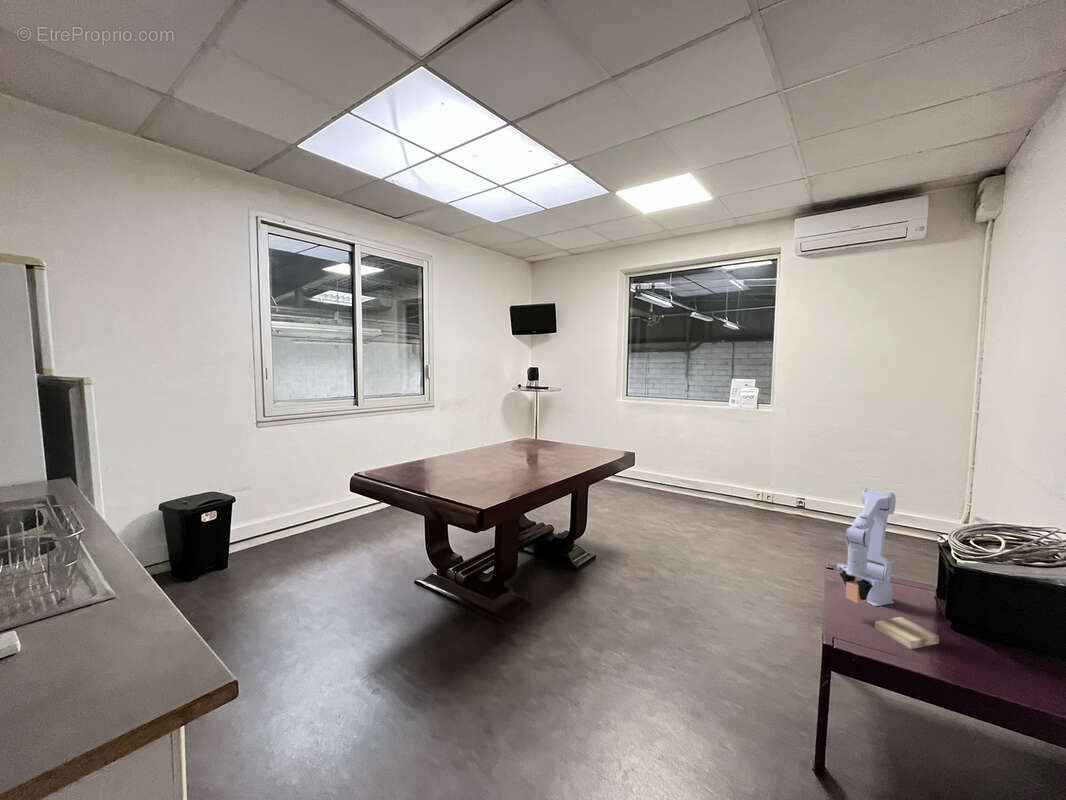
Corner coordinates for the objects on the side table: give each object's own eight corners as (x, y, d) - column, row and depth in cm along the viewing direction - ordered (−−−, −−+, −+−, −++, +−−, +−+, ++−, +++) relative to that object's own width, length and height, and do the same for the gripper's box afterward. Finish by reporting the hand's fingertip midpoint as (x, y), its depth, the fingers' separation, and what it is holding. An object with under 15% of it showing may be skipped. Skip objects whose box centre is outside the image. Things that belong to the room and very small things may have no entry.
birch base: (901, 624, 156) (901, 616, 156) (938, 644, 145) (939, 635, 145) (874, 629, 154) (874, 621, 154) (910, 650, 142) (911, 641, 142)
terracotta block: (855, 595, 163) (855, 580, 162) (867, 601, 158) (867, 586, 158) (845, 597, 162) (846, 581, 161) (857, 603, 157) (857, 587, 157)
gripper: (830, 553, 165) (830, 587, 166) (867, 570, 151) (867, 607, 152) (845, 551, 167) (845, 585, 168) (883, 567, 153) (882, 604, 154)
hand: (856, 595), depth 160 cm, fingers closed on terracotta block, 4 cm apart
